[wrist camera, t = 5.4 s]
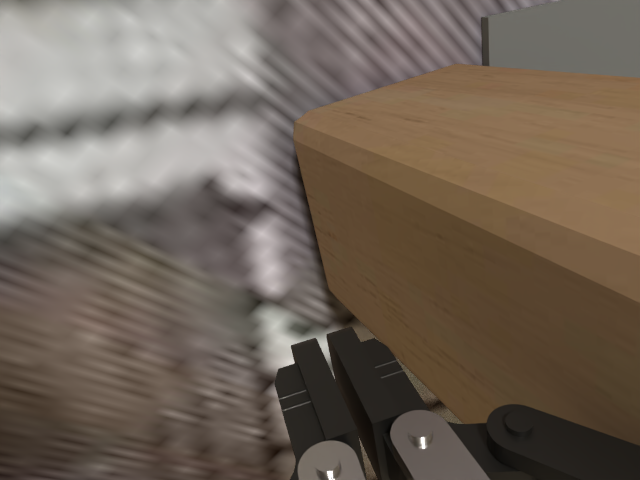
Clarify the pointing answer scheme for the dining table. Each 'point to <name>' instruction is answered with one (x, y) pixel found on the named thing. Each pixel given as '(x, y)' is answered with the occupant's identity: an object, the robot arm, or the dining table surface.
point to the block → (490, 235)
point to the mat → (566, 37)
